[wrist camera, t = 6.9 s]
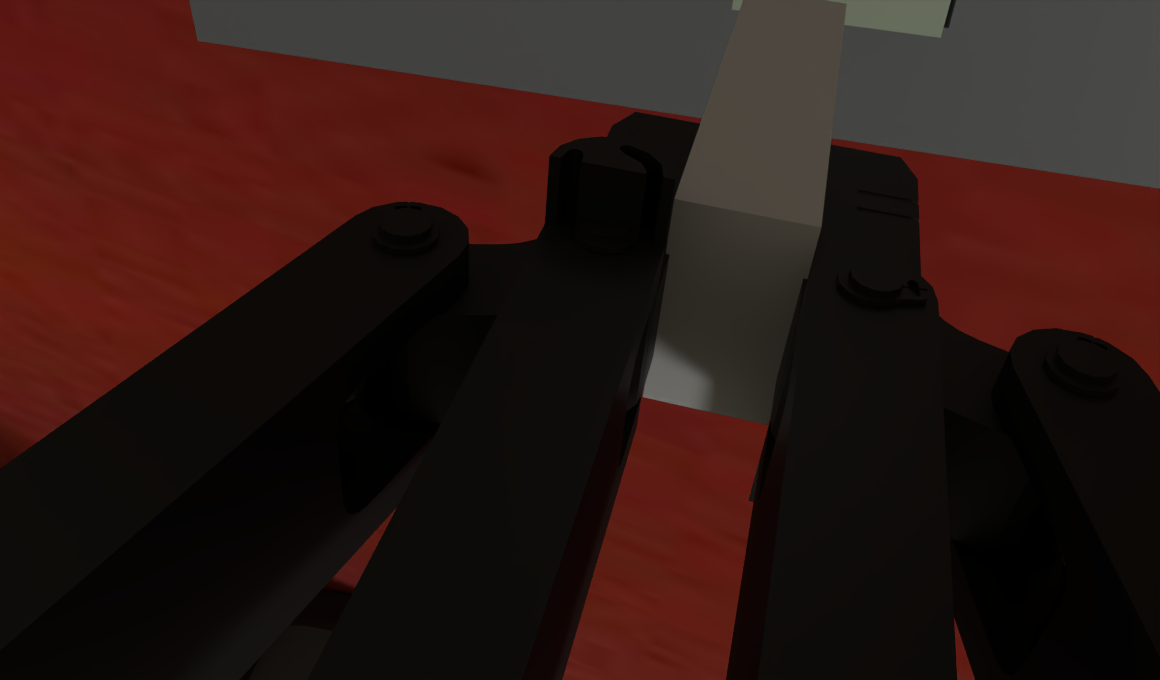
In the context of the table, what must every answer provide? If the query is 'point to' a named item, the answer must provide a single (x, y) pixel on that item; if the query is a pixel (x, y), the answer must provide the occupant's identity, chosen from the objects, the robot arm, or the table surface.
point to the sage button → (894, 15)
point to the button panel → (699, 40)
